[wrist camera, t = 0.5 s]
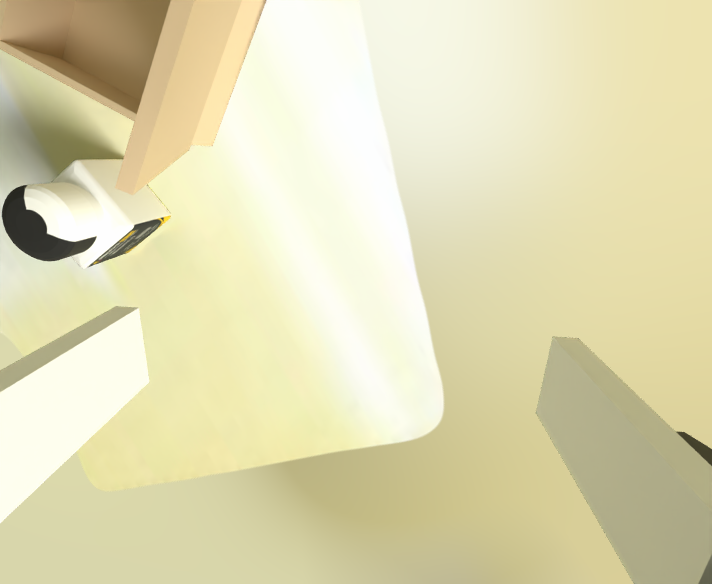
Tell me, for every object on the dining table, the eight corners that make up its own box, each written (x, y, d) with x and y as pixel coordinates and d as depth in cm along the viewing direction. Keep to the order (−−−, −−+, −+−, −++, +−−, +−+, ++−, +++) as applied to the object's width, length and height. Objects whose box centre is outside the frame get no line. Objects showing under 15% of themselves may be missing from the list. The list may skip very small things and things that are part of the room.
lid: (114, 187, 19) (132, 195, 19) (219, -163, 15) (240, -146, 15) (179, 145, 33) (189, 149, 33) (242, -41, 29) (253, -33, 29)
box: (60, 63, 38) (-9, 44, 32) (97, -104, 34) (26, -167, 27) (212, 145, 40) (176, 143, 33) (268, -5, 35) (239, -42, 29)
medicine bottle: (128, 253, 44) (37, 286, 33) (81, 198, 42) (-32, 214, 31) (174, 215, 42) (94, 237, 31) (126, 157, 41) (24, 157, 29)
